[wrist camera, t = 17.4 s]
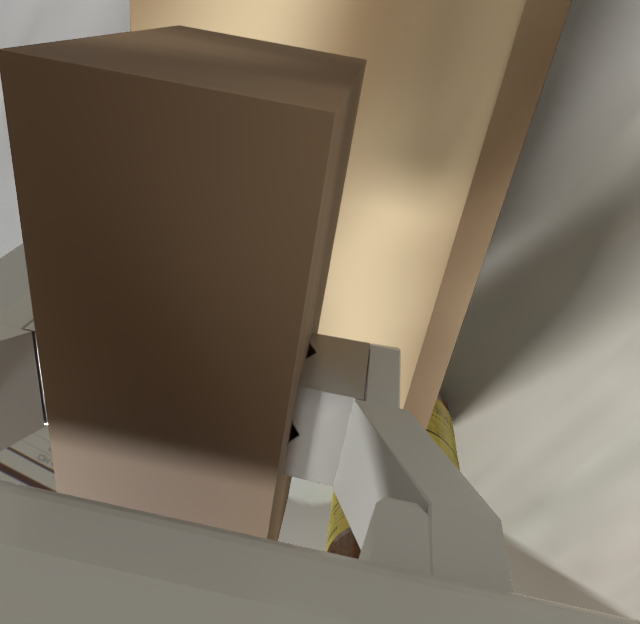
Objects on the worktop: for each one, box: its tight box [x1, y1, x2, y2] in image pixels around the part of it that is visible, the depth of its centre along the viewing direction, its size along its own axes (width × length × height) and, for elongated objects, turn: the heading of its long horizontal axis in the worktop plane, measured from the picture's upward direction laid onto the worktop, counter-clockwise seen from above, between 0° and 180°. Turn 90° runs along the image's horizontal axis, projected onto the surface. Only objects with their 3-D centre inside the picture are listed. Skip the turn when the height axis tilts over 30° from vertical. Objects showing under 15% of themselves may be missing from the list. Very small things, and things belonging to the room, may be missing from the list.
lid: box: [130, 0, 572, 430], centre depth 17 cm, size 11×17×1 cm
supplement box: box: [0, 244, 57, 492], centre depth 24 cm, size 10×9×17 cm
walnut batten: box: [0, 25, 367, 541], centre depth 9 cm, size 3×10×4 cm, turn 171°
